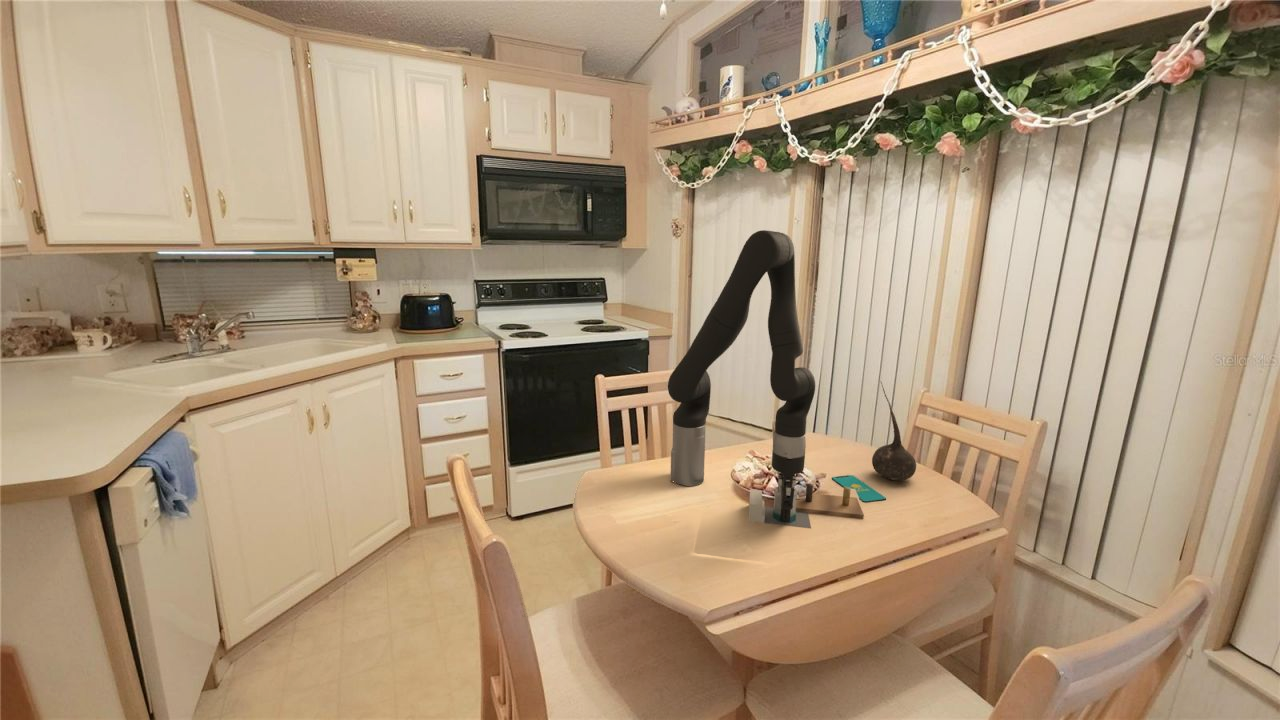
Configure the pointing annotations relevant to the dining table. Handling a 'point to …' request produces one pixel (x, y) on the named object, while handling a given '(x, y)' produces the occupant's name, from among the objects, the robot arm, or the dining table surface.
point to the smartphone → (859, 488)
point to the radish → (894, 457)
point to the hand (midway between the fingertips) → (784, 514)
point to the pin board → (830, 504)
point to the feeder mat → (771, 512)
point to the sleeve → (778, 507)
